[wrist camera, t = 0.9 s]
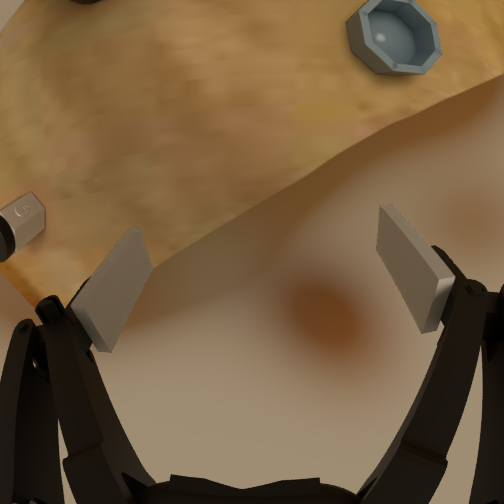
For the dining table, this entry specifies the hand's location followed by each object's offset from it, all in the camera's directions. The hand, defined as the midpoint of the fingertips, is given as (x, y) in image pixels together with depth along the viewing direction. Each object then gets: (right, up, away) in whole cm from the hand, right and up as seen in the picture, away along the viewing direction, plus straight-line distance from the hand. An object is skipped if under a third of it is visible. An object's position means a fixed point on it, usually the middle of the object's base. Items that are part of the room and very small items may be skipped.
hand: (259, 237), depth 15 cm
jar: (-43, +7, +28) cm, 52 cm away
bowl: (+18, +28, +13) cm, 36 cm away
